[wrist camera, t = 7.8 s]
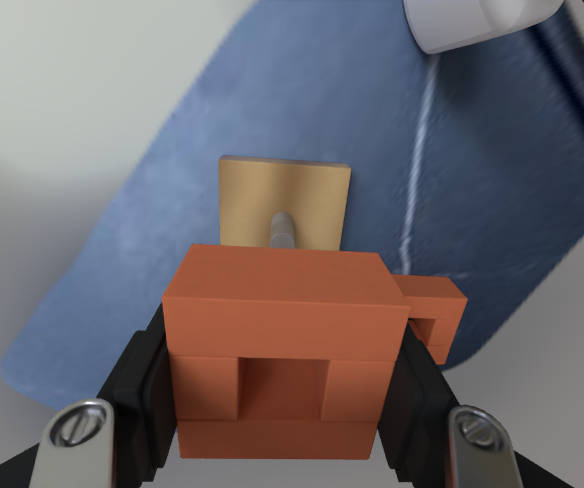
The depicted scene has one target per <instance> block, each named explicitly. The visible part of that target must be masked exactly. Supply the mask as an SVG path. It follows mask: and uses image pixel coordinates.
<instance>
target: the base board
mask: <svg viewBox="0 0 584 488" xmlns="http://www.w3.org/2000/svg"><path fill="white" fill-rule="evenodd" d="M350 175H351V168H350V167H349V166H348V165H347V164H343V163H328V162H314V161H299V160H285V159H270V158H255V157H241V156H226V155H223V156H222V157H221V158H220V159H219V206H220V245H226V246H246V247H266V248H286V249H306V250H327V251H339V249H340V242H341V235H342V229H343V222H344V215H345V209H346V202H347V195H348V188H349V182H350Z"/></svg>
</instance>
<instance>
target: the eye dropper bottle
mask: <svg viewBox="0 0 584 488" xmlns="http://www.w3.org/2000/svg"><path fill="white" fill-rule="evenodd" d="M403 1H404V8H405V13H406V17H407V20H408V24H409V26H410V29H411V32H412V34H413V36H414V38H415V40H416V42H417V43H418V45H419V47H420V48H421V49H422V51H424V52H425V53H427V54H436V53H440V52H444V51H447V50H451V49H455V48H459V47H463V46H467V45H470V44H474V43H478V42H482V41H486V40H489V39H493V38H496V37H500V36H503V35H506V34H510V33H513V32H516V31H519V30H521V29H524V28H527V27H530V26H532V25H535V24H537V23H539V22H542V21H544V20H546V19H547V18H549V17H550V16H551V15H553V14H554V13H555V12H556V11H557V10H558V8H559V7H560V6H561V4H562V3H563V1H564V0H403Z"/></svg>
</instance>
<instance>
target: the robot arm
mask: <svg viewBox="0 0 584 488" xmlns="http://www.w3.org/2000/svg"><path fill="white" fill-rule="evenodd" d="M176 419H177V418H176V415H175V406H174V397H173V388H172V379H171V370H170V361H169V355H168V348H167V340H166V331H165V322H164V313H163V304H162V302H161V304H160V306H159V307H158V309H157V311H156V313H155V315H154V316H153V318H152V320H151V322H150V324H149V325H148V327H147V329H146V331H140V330H138V331H137V332H135V334H134V335H133V336H132V338H131V340H130V341H129V343H128V345H127V346H126V348H125V350H124V351H123V353H122V355H121V356H120V358H119V360H118V361H117V363H116V365H115V367H114V368H113V370H112V372H111V373H110V375H109V377H108V378H107V380H106V382H105V383H104V385H103V387H102V388H101V390H100V392H99V393H98V395H97V397H96V398H89V399H83V400H80V401H77V402H75V403H72V404H70V405H68V406H67V407H65V408H63V409H62V410H60V411H59V412H58V413H57V414H56V415H55V416H53V417H52V418H51V420H50V421H49V422H48V423H47V425H46V426H45V428H44V431H43V433H42V436H41V440H40V443H38V444H36V445H35V446H33V447H31V448H29V449H27V450H25V451H24V452H22V453H20V454H19V455H17V456H15V457H13V458H11V459H9V460H8V461H6V462H4V463H2V464H1V465H0V488H139V487H141V484H142V482H153V480H154V477H155V474H156V470H157V468H163V467H164V465H165V462H166V459H167V456H168V453H169V449H170V446H171V442H172V439H173V436H174V433H175V430H176V426H177V423H176ZM377 429H378V432H379V436H380V439H381V442H382V446H383V449H384V453H385V456H386V459H387V463H388V465H389V467H390V469H395V471H396V475H397V478H398V481H399V482H412V484H413V487H414V488H574V487H572V486H570V485H569V484H567V483H566V482H564V481H562V480H561V479H559V478H558V477H556V476H554V475H553V474H551V473H550V472H548V471H546V470H545V469H543V468H542V467H540V466H538V465H537V464H535V463H534V462H532V461H530V460H529V459H527V458H526V457H524V456H522V455H521V454H519V453H518V452H516V451H514V450H513V447H512V443H511V440H510V437H509V435H508V433H507V431H506V430H505V428H504V427H503V426H502V425H501V423H500V422H499V421H497V420H496V419H495V418H494V417H493V416H491V415H490V414H488V413H486V412H485V411H484V410H481V409H479V408H477V407H474V406H469V405H460V404H459V402H458V401H457V399H456V397H455V395H454V394H453V392H452V391H451V388H450V387H449V385H448V383H447V382H446V380H445V378H444V376H443V375H442V373H441V371H440V370H439V368H438V366H437V364H436V363H435V361H434V359H433V358H432V356H431V354H430V352H429V351H428V349H427V347H426V346H425V344H424V343H423V341H421V340H420V339H417V337H416V335H415V333H414V332H413V330H412V328H411V326H410V324H409V323H408V321H407V324H406V328H405V331H404V335H403V339H402V342H401V346H400V350H399V353H398V356H397V360H396V361H395V366H394V370H393V374H392V377H391V381H390V385H389V388H388V392H387V396H386V399H385V403H384V407H383V410H382V414H381V418H380V421H379V422H378V428H377Z"/></svg>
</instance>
